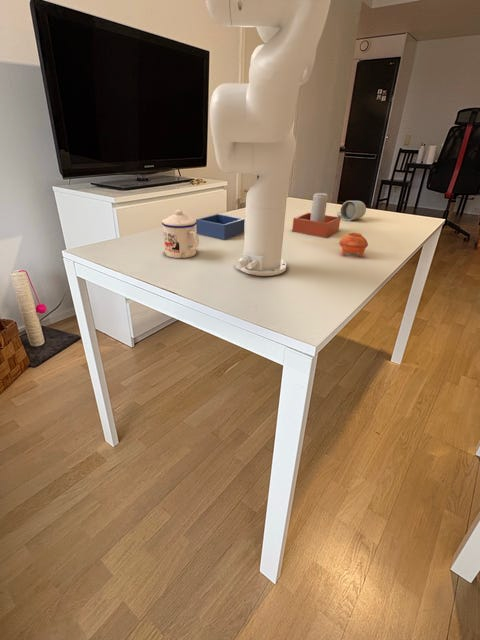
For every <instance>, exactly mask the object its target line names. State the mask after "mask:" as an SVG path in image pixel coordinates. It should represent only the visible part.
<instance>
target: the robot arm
mask: <svg viewBox="0 0 480 640" xmlns="http://www.w3.org/2000/svg"><path fill="white" fill-rule="evenodd" d="M331 1H332V0H204V2H205V6H206V9H207V11H208V14H209V16H210V18H211V20H212V21H213V22H214V23H215V24H217V25H219V26H223V27H233V28H234V27H240V28H243V27H244V28H256V31H257V34H258V36H259V38H260V40H262V42H263V44H259V45H258V46H256V47H255V49H254V50H253V52H252V54H251V56H250V64H249V69H248V83H247V82H245V83H244V82H227V83H226V82H225V83H222V84H221V83H220V85H218V86H216V87H215V89H214V90H213V92H212V94H211V98H210V102H209V125H210V132H211V137H212V138H211V139H212V143H213V149H214V154H215V159H216V160H215V161H216V164H217V166H218V167H219V170H221V171H222V172H223V173H228V174H240V175H243V174H244V175H254V176H257V175H258V179H257V178H256V180H255V181H254V182H253V183H252V185H251V186H250V187H249V188H248V190H247V192H246V195H245V213H244V219H245V223H244V237H243V239H244V240H243V243H244V244H243V252H242V257H241V258H240V259H238V260H237V261H235V262H234V264H233V265H234V267H235V268H236V270H239V271H240V272H243V273H245V274H249V275H252V276H259V277H270V276H272V277H273V276H278V275H280V274H283V273H284V272H285V271H286V270H287V263H286V262H285V261H284V260H283V259H282V254H283V252H282V251H283V243H284V242H283V241H284V232H285V221H286V213H287V212H286V211H287V202H288V201H287V199H288V193H289V185H290V178H291V175H292V174H291V173H292V170H293V165H294V161H295V156H296V151H297V140H296V136H295V135H294V133H293V132H292V128H293V125H294V121H295V117H296V116H295V115H296V109H297V103H298V98H299V92H300V87H301V86H302V85H305V84H306V83H307V82H308V81H309V80H310V78H311V75H312V72H313V69H314V65H315V61H316V56H317V48H318V45H319V42H320V40H321V38H322V35H323V31H324V29H325V26H326V22H327V18H328V15H329V12H330V6H331Z"/></svg>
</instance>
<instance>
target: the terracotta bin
mask: <svg viewBox="0 0 480 640" xmlns="http://www.w3.org/2000/svg"><path fill="white" fill-rule="evenodd" d="M310 218H311V212H306V213H303V214H301V215H298V216H296V217H293V218H292V219H293V220H292V229H291V231H292V232H295V233H299V234H304V235H305V234H306V235H309V236H316V237H321V238H325V239H326V238H328V237H329V236H331V235H333V234H336V232H338V231H339V229H340V225H341V218H342V217H341V216H339V217H338V216H333V215H327V214H325V218H324V223H323V222H317V221H311V220H310Z"/></svg>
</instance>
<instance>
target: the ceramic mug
mask: <svg viewBox="0 0 480 640" xmlns="http://www.w3.org/2000/svg"><path fill="white" fill-rule="evenodd" d="M366 213H367V206H366V204H365V202H363V201H361V200H346V201H345V202H343V203H342V205H341V207H340V211H338V212H337V217H340V218H342V219H343V220H344V221H348V222H350V221H354V220H359V219H361V218H363V217H364V216H365V214H366Z"/></svg>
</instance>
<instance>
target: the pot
mask: <svg viewBox="0 0 480 640" xmlns="http://www.w3.org/2000/svg"><path fill="white" fill-rule="evenodd" d="M339 246H340V247H341V253H342V256H345V255H346V254H347V253H350V254H357V253H359V256H360V258H361V257H363V256H364V254H365V251H366V248H367V247H368V246H369V243H368V240H367V239H366V238H365V237H364V235H362V233H359V232H349V233H347V235H344V236H343V237H342V238H340V239H339Z"/></svg>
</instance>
